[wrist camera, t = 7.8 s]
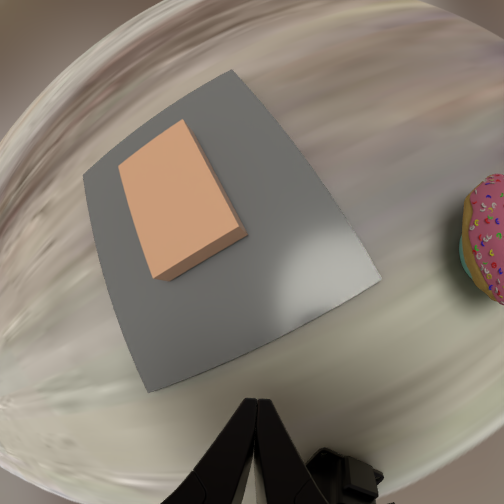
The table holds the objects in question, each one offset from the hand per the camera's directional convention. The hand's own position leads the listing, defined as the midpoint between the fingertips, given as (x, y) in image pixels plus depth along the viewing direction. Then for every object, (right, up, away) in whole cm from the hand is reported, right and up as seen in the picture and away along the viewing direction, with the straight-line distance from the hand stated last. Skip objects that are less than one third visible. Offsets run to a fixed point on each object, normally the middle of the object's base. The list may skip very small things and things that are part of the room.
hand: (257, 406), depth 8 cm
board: (-5, +8, +14) cm, 17 cm away
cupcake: (+18, +5, +8) cm, 20 cm away
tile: (-4, +5, +11) cm, 13 cm away
